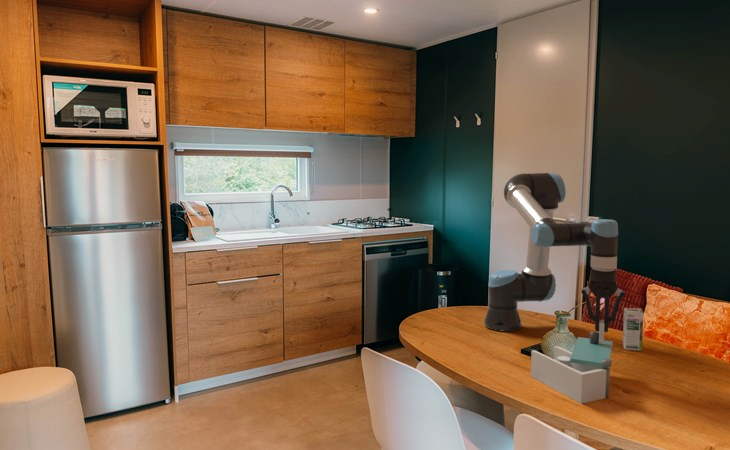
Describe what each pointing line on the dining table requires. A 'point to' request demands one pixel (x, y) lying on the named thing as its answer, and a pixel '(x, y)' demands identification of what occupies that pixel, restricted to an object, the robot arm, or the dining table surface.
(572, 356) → the lid
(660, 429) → the dining table surface
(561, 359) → the pill bottle
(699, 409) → the dining table surface
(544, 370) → the grey planter box
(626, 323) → the syrup box
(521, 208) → the robot arm
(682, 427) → the dining table surface
